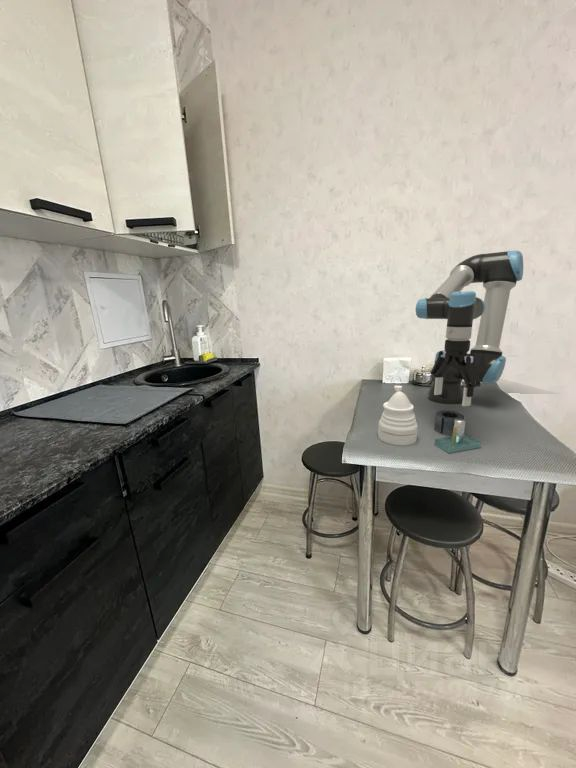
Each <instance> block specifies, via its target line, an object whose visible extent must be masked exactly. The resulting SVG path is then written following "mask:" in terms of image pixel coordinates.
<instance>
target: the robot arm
mask: <svg viewBox="0 0 576 768" xmlns="http://www.w3.org/2000/svg"><path fill="white" fill-rule="evenodd" d="M523 257H524V255H523V253H522V252H521V251H520V250H507V251H499V252H490V253H479V254H475V255H472V256H471V257H467V258H466V259H464V260H462V261H460V262H459V263H458V264H457V265H455V267H453V268H452V269H451V271H450V273H449V276H448V277H447V278H446V280H444V282H443V283H442V284H441V285H440V286H439V287H438V288H437V289H436V290H435V291H434V292H433V293H432V295H431V296H430V297H428V298H427V297H425V298H419V300H418V301H417V302H416V304H415V315H416V317H417V318H418V319H425V320H429V319H430V320H432V319H433V320H447V321H446V332H445V338H446V339H445V341H444V349H443V350H438V351H437V352H436V353H435V357H434V358H435V359H434V364H433V367H432V368H431V371H430V374H431V375H433V378H432V383H431V386H430V389H429V391H428V393H427V399H429V400H430V401H431V402H435V403H440V404H447V405H450V404H451V405H455V404H461V406H462V407H469V406H471V405H472V397H473V396H474V392H475V388H478V387H481V383H483V384H485V383H488V384H495V383H497V382H498V381H499V380H500V378H501V376H503V375H502V374H503V372H504V369H505V366H506V361H507V358H506V357H505V356H504V355H503V353H504V352H503V351H502V350H501V348H500V345H501V340H502V336H503V335H502V334H503V331H504V330H503V329H504V323H505V320H506V316H507V315H506V314H507V310H508V305H509V299H510V294H511V290H513V289H514V288H516V285H517V282H520V281H522V279H523V277H524V258H523ZM476 283H478V284H479V283H482V287H483V288H484V289H485V295H484V300H483V299H482V298H479V297H477V293H476V292H475V291H474V290H473V291H472V290H469V291H463V290H464V288H465V287H468V286H469V285H471V284H476ZM479 317H480V319H479V324H478V325H479V326H478V332H477V337H476V342H475V345H474V346H473V347H472V348H470V347H471V340H470V339H472V330H473V324H474V322H473V321H474V320H475V319H478V318H479ZM468 352H469V353H468ZM462 380H463V382H464V385H465V386H464V387H462Z"/></svg>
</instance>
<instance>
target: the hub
mask: <svg viewBox="0 0 576 768" xmlns="http://www.w3.org/2000/svg"><path fill="white" fill-rule="evenodd" d="M455 419H463V420H465V415H464V414H462V413H461V412H459V411H454V410H453V411H452V410H447V409H446V410H439V411H438V410H437V411H436V413H435V419H434V428H433V429H434V431H435V432H437V433H438V434H440V435H443V436H448V437H450V436H452V435H453V427H454V422H455Z"/></svg>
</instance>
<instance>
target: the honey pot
mask: <svg viewBox="0 0 576 768" xmlns="http://www.w3.org/2000/svg"><path fill="white" fill-rule="evenodd" d="M393 389H394V391H395V393H394V394H392V396H391V397H390V399H389V400H388V401H386V402H384V403H383V405H382V407H383V408H384V410H383V412H382V414H381V417H380V419H379V421H378V428H377V429H378V431H377V435H378V436H377V437H378V438H379V439H380V441H382V442H383V443H386V444H390V445H393V446H394V445H396V446H410V445H413V444H415V443H416V442H417V441H418V440H417V439H418V429H419V428H418V427H419V426H418V423H417V420H416V414H415V412H414V408H415V407H414V405H413V404H412V403H411V402H410V400H409V398H408V396H407V395H406V393H404V392H402V389H403V386H402V385H394V388H393Z"/></svg>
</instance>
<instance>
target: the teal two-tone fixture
mask: <svg viewBox="0 0 576 768" xmlns="http://www.w3.org/2000/svg"><path fill="white" fill-rule="evenodd" d="M465 427H466V420H465V419H464V420H463V419H455V422H454V427H453V435H452V436H446V437H445V436H444V437H439V438H434V445H435V446H436V447H438V448H439V449H441V450H442V451H444V452H446V453H447V454H452V453H458V452H463V451H470V450H474V449H480V448H481V446H482V441H480V440H478V439H477V438H474V437H473V436H470V435H468V434H466V433H465Z"/></svg>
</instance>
